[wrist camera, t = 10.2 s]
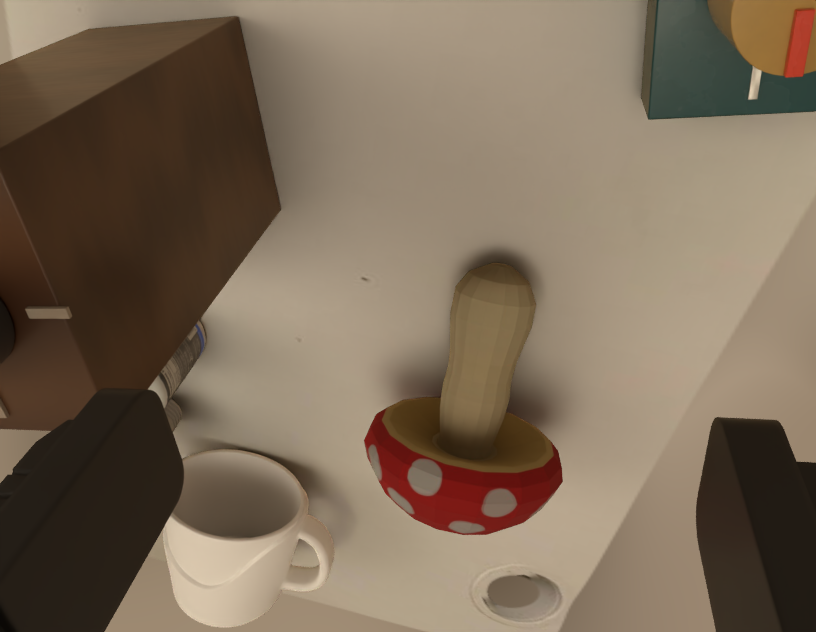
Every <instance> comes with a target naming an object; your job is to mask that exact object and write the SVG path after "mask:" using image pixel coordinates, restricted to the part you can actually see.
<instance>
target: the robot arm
mask: <svg viewBox="0 0 816 632" xmlns="http://www.w3.org/2000/svg"><path fill="white" fill-rule="evenodd" d="M183 483H184V466H183V461H182V458H181V455H180V452H179V450H178V447H177V444H176V441H175V438H174V435H173V432H172V430H171V427H170V424H169V421H168V418H167V415H166V413H165V410H164V407H163V404H162V401H161V399H160V397H159V396H158V394H157V393H156V392H154V391H153V390H144V389H122V388H103V389H101V390H99V391H98V392H96V393H95V394H94V395H93V397H92V398H91V399H90V400H89V401H88V403H87V404H86V405H85V406H84V408H83V409H82V410H81V411H80V412H79V414H78V415H77V416H76V417H75V418H74V420H69V419H68V420H67V421H65V422H64V423H62V424H61V425H60V426H58V427H57V428H55V429H54V430H52V431H51V432H50V433H48V434H47V435H46V436H44V437H43V438H41V439H40V440H38V441H37V442H36V443H35V444H34V445H33V446H32V447H31V449H30V450H29V451H28V452H27V453H26V454H25V455H24V457H23V458H22V459H21V460H20V461H19V462H18V464H17V465H16V466H15V467H14V468H13V473H12V475H7V476H6V477H5V479H4V480H3V481H2V482H1V483H0V632H104V631H105V630H106V628H107V626H108V624H109V622H110V620H111V619H112V617H113V615H114V614H115V612H116V610H117V609H118V607H119V605H120V603H121V601H122V600H123V598H124V596H125V594H126V593H127V591H128V589H129V587H130V585H131V584H132V582H133V580H134V579H135V577H136V575H137V573H138V571H139V570H140V568H141V566H142V564H143V563H144V561H145V559H146V558H147V556H148V554H149V552H150V550H151V549H152V547H153V545H154V543H155V542H156V540H157V538H158V536H159V535H160V533H161V531H162V529H163V528H164V526H165V524H166V522H167V521H168V519H169V517H170V515H171V514H172V512H173V510H174V508H175V507H176V505H177V503H178V501H179V498H180V496H181V492H182V488H183ZM696 526H697V538H698V545H699V550H700V555H701V560H702V565H703V569H704V575H705V579H706V584H707V589H708V594H709V599H710V604H711V609H712V613H713V618H714V623H715V628H716V632H816V463H811V462H810V463H809V462H796V459H795V457H794V454H793V452H792V449H791V447H790V444H789V441H788V439H787V436H786V434H785V431H784V429H783V427H782V425H781V424H780V422H779V421H777V420H763V419H743V418H720V417H717V418H715V419H714V421H713V423H712V426H711V430H710V435H709V440H708V446H707V450H706V455H705V461H704V466H703V471H702V476H701V482H700V487H699V492H698V498H697V506H696Z"/></svg>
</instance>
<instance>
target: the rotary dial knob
mask: <svg viewBox="0 0 816 632" xmlns="http://www.w3.org/2000/svg"><path fill="white" fill-rule="evenodd" d="M14 340H15V333H14V327H13V323H12V320H11V317H10V315H9V313H8V310H7V309H6V307H5V305H4V304H3V302H2V301H1V299H0V364H1V363H2V362H3V361H5V360H6V359H7V358H8V356H9V355H10V353H11V351H12V349H13V346H14Z"/></svg>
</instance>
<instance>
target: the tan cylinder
mask: <svg viewBox="0 0 816 632" xmlns="http://www.w3.org/2000/svg"><path fill="white" fill-rule="evenodd" d="M707 3H708V9H709V13H710V15H711V18H712V20H713V22H714V24H715V25H716V27H717V28H718V29H719V30H720V31H721V33H722V34H723V35H724V36H725V37H726V38H727V40H728V41H729V42H730V43H731V44H732V45H733V46H734V48H735V49H736V50H737V51H738V52H739V53H740V54H741V56H742V57H743V58H744V59H745V60H746V61H747V62H748V63H749V64H751V65H752V66H754V67H755V68H757V69H758V70H761V71H763V72H765V73H769V74H773V75H779V76H785V77H786V78H788V77H802V76H803V75H804V74H806V73H810V72H813V71H816V0H707Z"/></svg>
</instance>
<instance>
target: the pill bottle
mask: <svg viewBox="0 0 816 632" xmlns="http://www.w3.org/2000/svg"><path fill="white" fill-rule="evenodd" d="M205 344H206V336H205V331H204V329H203V326H202V324H201V323H200V321H198V322H197V324H196V325H195V326H194V328H193V329H192V330H191V332H190V333H189V334H188V336H187V337H186V338H185V340H184V341H183V342H182V344H181V345H180V347H179V348H178V349H177V351H176V352H175V353H174V355H173V356H172V357H171V359H170V360H169V361H168V363H167V364H166V365H165V367H164V368H163V370H162V371H161V372H160V374H159V375H158V376H157V378H156V379H155V380H154V382H153V383H152V384H151V386H150V387H149V388H148V390H153V391H154V392H156V393H157V394H158V396H159V397H160V399H161V401H162V404H163V407H164V409H165V407H166V406H167V404H168V403H169V401H170V399H171V398H172V397H173V395H174V394H175V392H176V390H177V389H178V387H179V386H180V385H181V383H182V382H183V380H184V379H185V378H186V376H187V374H188V373H189V371H190V370H191V368H192V367H193V365H194V364H195V362H196V361H197V359H198V358H199V357H200V355H201V353H202V352H203V350H204V348H205Z"/></svg>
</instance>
